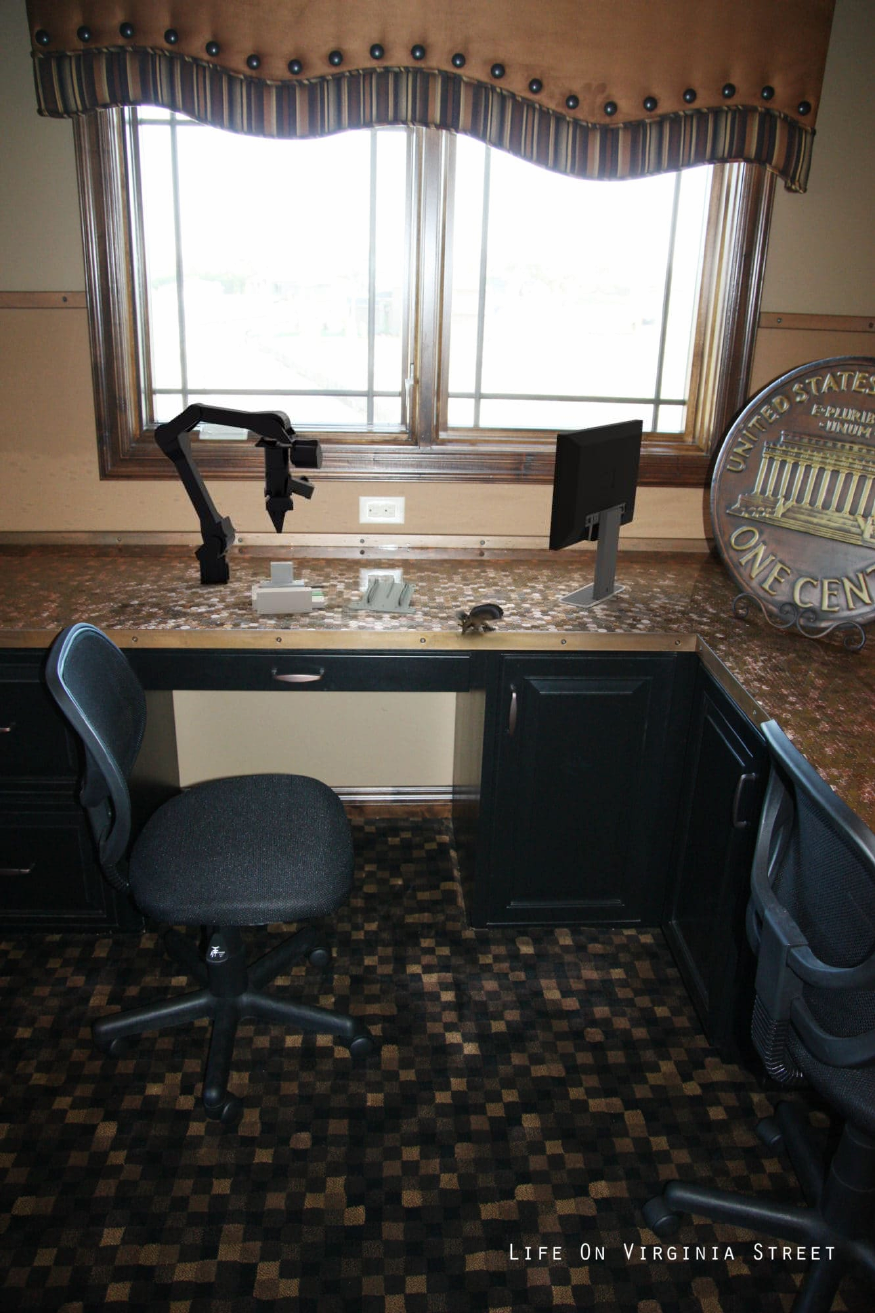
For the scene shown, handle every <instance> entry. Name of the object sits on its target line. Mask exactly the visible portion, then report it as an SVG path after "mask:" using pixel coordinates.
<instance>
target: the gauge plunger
mask: <svg viewBox="0 0 875 1313" xmlns="http://www.w3.org/2000/svg"><path fill="white" fill-rule="evenodd" d="M259 583H260V588H293V587H311V589H317V588H321V589H324V588H325V587H324V586H325V585H324V584H319V585H318V584H317V585H305V580H304V579H295V580H294V563H293V561H271V562H270V580H261V581H260V582H259Z"/></svg>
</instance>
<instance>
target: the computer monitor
mask: <svg viewBox="0 0 875 1313" xmlns="http://www.w3.org/2000/svg"><path fill="white" fill-rule="evenodd" d="M643 429H644V420H643V419H638V418H637V419H631V420H626V421H619V422H614V423H609V424H603V425H597V426H593V427H588V428H582V429H577V430H570V431H564V432H558V433H557V434H556V444H555V445H556V446H555V459H554V471H553V472H554V473H553V484H552V498H551V499H552V500H551V510H550V511H551V514H550V526H549V527H550V528H549V542H548V550H549V551H553V552H554V551H555V552H558V551H560V550H564V549H565V548H569V547H571V546H573V545H575V544H578V543H581V542H584V541H586V542H588V543H590V542H591V543H592V542H596V543H597V544H596V552H595V553H596V554H595V564H594V565H595V566H594V576H593V582H591V583H590V584H588V585H585V586H583V587H581V588H578V589H577V590H575V591H572V592H570V593H568V594H566V595H564V596H561V597H560V598H558V602H559V603H560V604H563V603H564V604H563V605H567V604H570V605H569V606H572V605H573V607H576V606H579V607H578V608H581V607H582V608H584V609H589V607H590V608H592V606H593V607H594V605H595V606H596V604H597V605H598V604H600V603H602V602H604V601H606V600H608V599H609V598H612V597H614V596H616V595H618V594H619V593H622V592H624V591H625V590H626V587H625V586H624V585H622V584H617V583H616V584H615V582H616V581H615V580H616V569H617V561H618V560H617V559H618V552H619V550H618V548H619V539H620V530H621V527H622V526H625V525H627V524H630V523H632V522H633V520H634V516H635V515H634V513H635V506H636V496H637V486H638V480H639V478H638V476H639V469H640V458H641V449H642V440H643ZM621 591H622V592H621ZM617 593H618V594H617ZM613 595H614V596H613ZM582 608H581V609H582Z"/></svg>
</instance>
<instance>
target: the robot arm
mask: <svg viewBox="0 0 875 1313" xmlns="http://www.w3.org/2000/svg"><path fill="white" fill-rule="evenodd" d="M290 419H291V418H290V417H289V415H288V414H287V413H286V412H285V411H283V410H257V411H247V410H243V409H242V410H241V409H236V408H230V407H223V406H216V405H210V404H204V403H202V402H196V403H191V404H190V405H189V404H188V406H187V407H186V409H184V410H183V411H182V412H180V413H178V415H176V416H175V417H173V418H172V419H171V420H170V421H168V422H164V423H161V424H159V425H157V427H156V428H155V429H154V432H153V440H154V441H155V442H154V443H156V445H157V446H158V448H159V449H160V451H161V452H162V454H163V455H164V456H165V457H166V458H167V459H168V460H169V461H170V462H171V463H172V464H173V466H174V468H175V470H176V472H177V475H178V476H179V479H180V481H181V483H182V485H183V487H184V490H185V491H186V493H187V496H188V497H189V500H190V502H191V504H192V506H193V508H194V510H195V512H196V515H197V516H198V517H197V518H198V519H199V526H200V528H199V529H200V536H201V539H202V542H203V543H202V545H200V546H199V547H198V548H197V549H196V550H195V551H194V554H195V557H196V559H197V561H199V573H200V574H199V576H200V581H199V585H200V586H201V585H202V586H206V585H227V584H228V583H229V582H228V581H229V580H230V577H231V576H230V561H229V560H227V554H228V553H229V549H230V548H231V547H232V546H233V545H234V544H235V541H236V534H235V532H237V529H236V528H235V527H234V526H233V523H232V521H231V518H230V516H229V515H227V516H225V517H223V516H222V515H221V514H220V513H219V512H218V510H217V508H216V505H215V503H214V501H213V499H212V497H211V494H210V493H209V490H208V489H207V486H206V483H205V481H204V480H203V478H202V475H201V473H200V472H199V469H198V466H197V465H196V463H195V460H194V458H193V454H192V443H191V439H190V435H189V434H190V433H191V432H192V431H193V430H195V428H196V427H197V426H198V425H199V424H200V423H204V424H212V425H219V426H224V427H231V428H238V429H245V430H248V431H250V432H252V433H254V434H256V435H259V436H261V437H260V438H259V440H258V441H257V442H256V443H255V444H254V447H255V448H263V454H264V455H263V456H264V482H265V486H264V488H263V497H264V499H265V500H264V501H265V502H264V504H265V511H267V513H268V516H269V518H270V521H271V522H272V524H273V527H274V529H275V532H276V533H277V534H282V533H283V529H284V522H285V517H286V514H287V512H288V511H294V500H293V498H292V497H291V496H293V494H295V495H297V496H301V497H304V498H305V499H306V500H309V501H310V500H311V499H312V498H313V494H314V490H315V485H314V484H313V483H312V482H310V481H309V477H308V476H307V475H303V474H301V475H300V476H299V477H294V476H293V474H292V471H291V468H290V464H291V465H292V466H294V467H295V469H310V470H321V468H322V466H323V460H324V459H323V454H324V453H323V450H322V445H321V442H320V439H319V438H311V439H309V438H301V437H300V435H299V434H298V433H297V431H296V430H295V429H294V426H292V422H291V420H290Z"/></svg>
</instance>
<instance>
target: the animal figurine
mask: <svg viewBox="0 0 875 1313" xmlns="http://www.w3.org/2000/svg"><path fill="white" fill-rule="evenodd" d="M454 614H455V617H456V618H457V619H458V620H459V621H461V623H457V625H458V627H461V630H462V631H461V636H463V635H465V634H466V633H467V632H468V630H469V629H470V628H473V629H474V630H476V631H478V632H479V633H480V634H481V635H482V636H484V635H485V630H484V629H483V627H482V626H484V627H487V628H490V629H491V630H492V629H493V630H496V627H494V626H491V625H490V624H489V623H488V621H494V620H500V619H502V617H503V616H504V615H505V612H504V609H503V608H502V607H501V606H500V605H498V604H495V603H491V602H488V603H484V604H480V605H476V606H474V607H473V608H472V609H471V610H470V612H469V614H467V613H466V611H464V610H462V609H461V610H457V611H455V613H454ZM493 627H494V628H493Z"/></svg>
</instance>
